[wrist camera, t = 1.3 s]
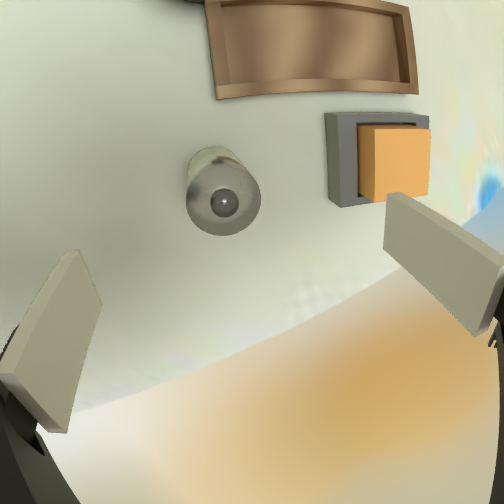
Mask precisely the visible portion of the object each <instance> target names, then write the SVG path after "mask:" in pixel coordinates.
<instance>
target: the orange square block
mask: <svg viewBox="0 0 504 504" xmlns="http://www.w3.org/2000/svg"><path fill="white" fill-rule="evenodd" d="M356 131H357V170H358V193H360V194H361V195H363V196H364V197H366V198H368V199H369V200H371V201H372V202H374V203H376V202H383V201H386V198H387V193H394V192H402V193H403V194H405V195H407V196H409V197H418V196H425V195H428V183H429V167H430V137H431V130H430V129H426V128H422V127H417V126H413V125H402V124H372V125H356Z"/></svg>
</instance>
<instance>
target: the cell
mask: <svg viewBox="0 0 504 504" xmlns="http://www.w3.org/2000/svg"><path fill="white" fill-rule="evenodd" d="M260 204H261V194H260V189H259V186H258V184H257V182H256V181H255V179H254V178H253V176H252V175H251V174H250V173H249V172H248V170H247V169H246V168H245V167H244V166H243V164H242V163H241V162H240V161H239V160H238V158H237V157H236V156H235V155H234V154H233V153H232V152H231V151H229V150H228V149H226V148H223V147H218V146H213V147H207V148H205V149H203V150H201V151H199V152H198V153H197V154H196V155H195V156H194V157H193V158H192V160H191V162H190V164H189V168H188V178H187V194H186V206H187V211H188V214H189V216H190V218H191V220H192V221H193V222H194V224H195V225H196V226H197V227H198V228H200V229H201V230H203V231H205V232H207V233H209V234H213V235H218V236H226V235H231V234H235V233H238V232H240V231H242V230H243V229H245V228H246V227H247V226H249V225H250V224H251V223H252V221H253V220H254V219H255V217H256V215H257V214H258V211H259V208H260Z"/></svg>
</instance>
